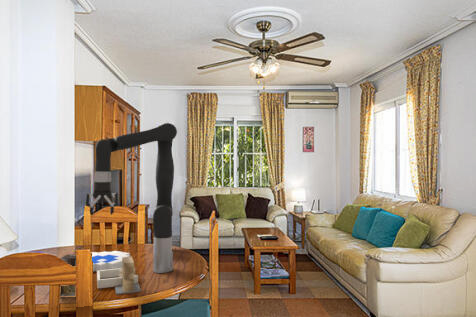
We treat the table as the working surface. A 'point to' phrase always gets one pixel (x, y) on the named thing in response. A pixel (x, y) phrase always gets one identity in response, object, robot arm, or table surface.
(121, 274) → the offcut upper
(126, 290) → the tan upright block
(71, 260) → the coffee box
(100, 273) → the u-shaped fence
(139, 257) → the table surface
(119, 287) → the mat
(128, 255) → the pixel art tile
